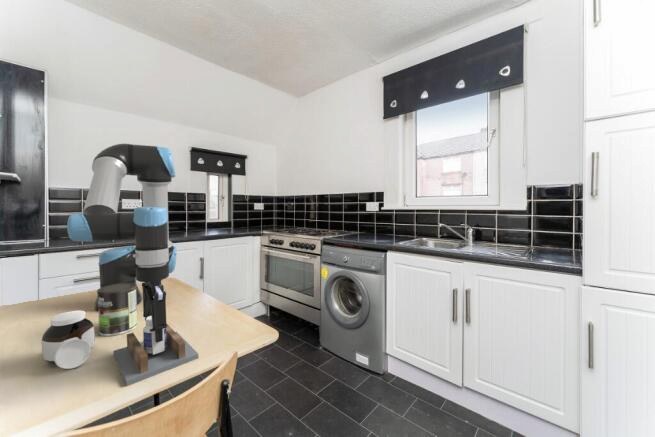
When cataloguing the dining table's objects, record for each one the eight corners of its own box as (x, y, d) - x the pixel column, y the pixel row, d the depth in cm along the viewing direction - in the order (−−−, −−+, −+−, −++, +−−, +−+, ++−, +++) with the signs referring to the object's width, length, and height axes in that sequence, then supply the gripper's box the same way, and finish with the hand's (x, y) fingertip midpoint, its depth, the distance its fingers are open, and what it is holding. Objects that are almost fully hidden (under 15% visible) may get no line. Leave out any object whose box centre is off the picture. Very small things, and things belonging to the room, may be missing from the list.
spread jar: (76, 346, 80) (74, 307, 79) (111, 349, 79) (110, 309, 78) (27, 372, 68) (24, 326, 67) (68, 375, 67) (65, 329, 66)
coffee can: (112, 338, 85) (110, 294, 84) (91, 333, 88) (89, 290, 87) (145, 324, 94) (143, 284, 93) (124, 320, 98) (123, 281, 97)
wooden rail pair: (127, 348, 77) (126, 334, 77) (166, 335, 84) (166, 323, 84) (140, 373, 66) (140, 357, 66) (185, 356, 73) (184, 342, 73)
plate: (113, 355, 76) (113, 350, 76) (176, 335, 87) (176, 331, 87) (126, 386, 63) (126, 381, 63) (198, 358, 75) (198, 353, 75)
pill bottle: (155, 355, 72) (154, 322, 71) (138, 352, 73) (137, 320, 72) (171, 344, 77) (170, 314, 77) (155, 342, 78) (154, 312, 78)
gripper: (128, 260, 77) (131, 340, 79) (144, 273, 65) (148, 368, 66) (158, 257, 83) (161, 331, 84) (179, 267, 70) (181, 355, 71)
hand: (155, 347), depth 75 cm, fingers closed on pill bottle, 5 cm apart
